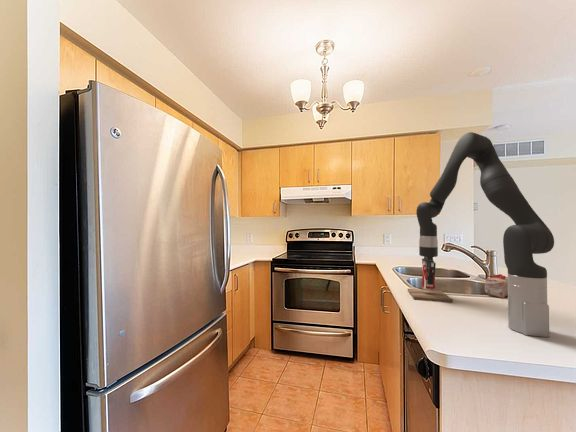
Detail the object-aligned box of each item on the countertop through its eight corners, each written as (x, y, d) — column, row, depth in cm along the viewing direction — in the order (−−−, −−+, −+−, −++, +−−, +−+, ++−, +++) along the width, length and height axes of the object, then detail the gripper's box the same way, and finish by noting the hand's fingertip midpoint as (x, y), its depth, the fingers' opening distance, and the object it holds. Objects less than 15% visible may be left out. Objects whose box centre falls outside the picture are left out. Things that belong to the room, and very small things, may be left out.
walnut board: (452, 302, 111) (452, 299, 111) (414, 299, 115) (414, 296, 115) (441, 293, 126) (441, 290, 126) (407, 290, 130) (407, 288, 130)
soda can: (423, 287, 124) (423, 261, 125) (436, 288, 121) (435, 262, 121) (421, 289, 120) (420, 262, 121) (433, 291, 117) (433, 264, 117)
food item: (505, 300, 116) (504, 277, 116) (483, 295, 122) (483, 274, 122) (513, 295, 124) (513, 274, 124) (493, 291, 130) (492, 271, 131)
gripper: (442, 247, 113) (442, 287, 113) (432, 244, 127) (433, 280, 127) (423, 246, 115) (423, 286, 115) (416, 244, 129) (416, 279, 129)
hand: (428, 282), depth 121 cm, fingers closed on soda can, 5 cm apart
